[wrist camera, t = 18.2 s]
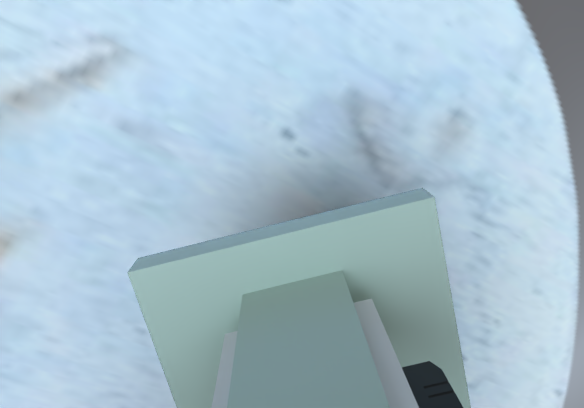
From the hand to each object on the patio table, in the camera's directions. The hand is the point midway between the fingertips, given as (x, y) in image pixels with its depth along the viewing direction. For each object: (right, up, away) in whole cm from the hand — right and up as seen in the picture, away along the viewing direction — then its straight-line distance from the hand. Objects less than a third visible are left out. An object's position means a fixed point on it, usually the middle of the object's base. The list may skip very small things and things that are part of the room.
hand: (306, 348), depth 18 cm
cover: (+1, -2, +4) cm, 4 cm away
